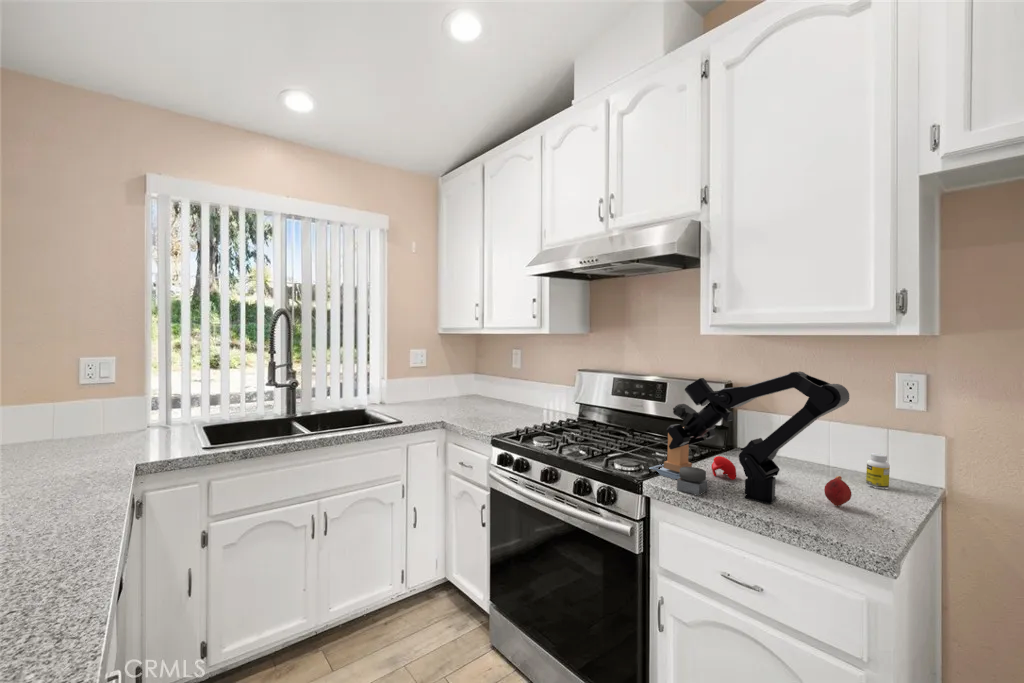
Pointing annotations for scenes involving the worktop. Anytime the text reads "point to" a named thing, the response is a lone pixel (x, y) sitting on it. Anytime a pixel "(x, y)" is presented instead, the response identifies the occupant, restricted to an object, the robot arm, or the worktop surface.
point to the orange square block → (677, 457)
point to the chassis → (666, 472)
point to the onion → (837, 491)
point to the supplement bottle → (878, 471)
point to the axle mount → (691, 486)
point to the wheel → (692, 474)
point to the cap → (724, 467)
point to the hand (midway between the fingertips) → (674, 447)
